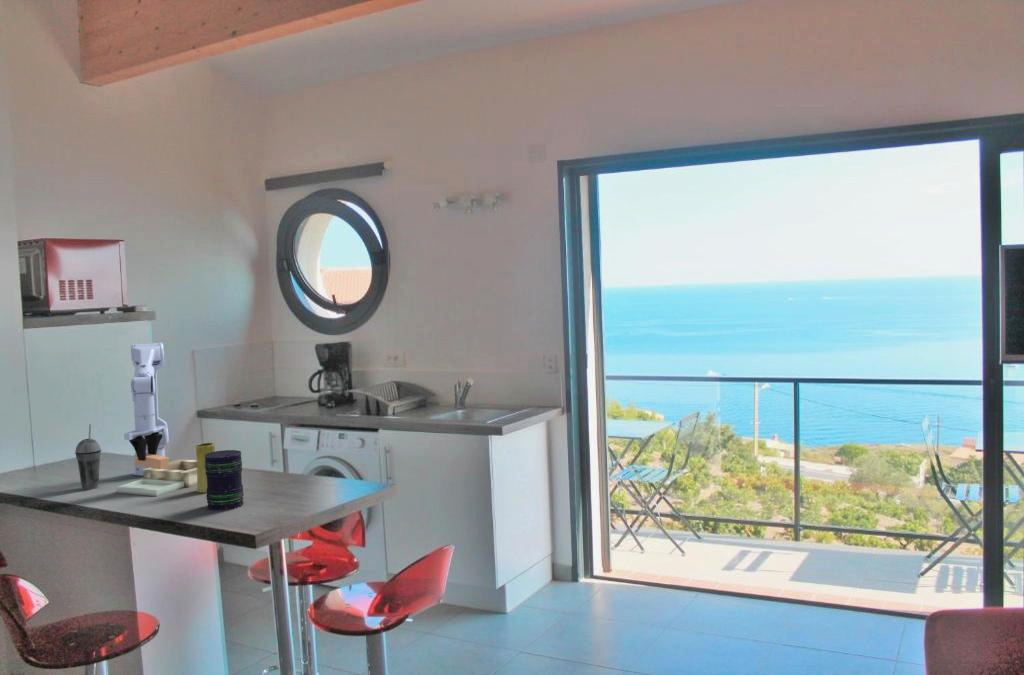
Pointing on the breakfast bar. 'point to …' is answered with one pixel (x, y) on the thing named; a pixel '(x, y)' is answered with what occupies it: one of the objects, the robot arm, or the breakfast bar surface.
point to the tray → (150, 487)
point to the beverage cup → (88, 462)
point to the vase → (202, 465)
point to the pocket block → (175, 472)
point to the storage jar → (224, 480)
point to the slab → (153, 461)
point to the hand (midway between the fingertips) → (147, 458)
